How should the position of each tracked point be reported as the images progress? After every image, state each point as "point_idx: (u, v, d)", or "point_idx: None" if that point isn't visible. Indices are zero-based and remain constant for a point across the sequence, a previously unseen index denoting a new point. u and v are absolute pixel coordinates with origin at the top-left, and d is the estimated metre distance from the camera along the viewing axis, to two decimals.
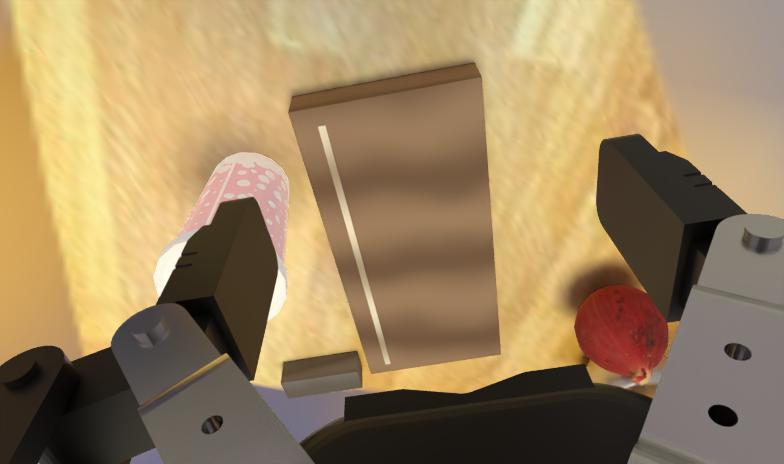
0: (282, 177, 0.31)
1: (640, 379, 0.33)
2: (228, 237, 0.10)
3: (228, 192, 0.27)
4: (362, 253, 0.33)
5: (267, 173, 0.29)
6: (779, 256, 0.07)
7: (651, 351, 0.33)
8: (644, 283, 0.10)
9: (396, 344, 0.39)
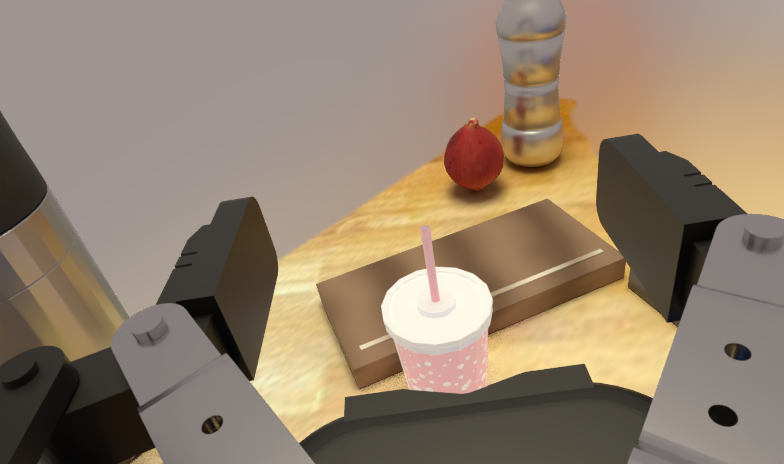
0: None
1: (472, 121, 0.50)
2: (228, 237, 0.10)
3: None
4: None
5: None
6: (779, 256, 0.07)
7: (458, 131, 0.51)
8: (644, 283, 0.10)
9: (573, 253, 0.41)
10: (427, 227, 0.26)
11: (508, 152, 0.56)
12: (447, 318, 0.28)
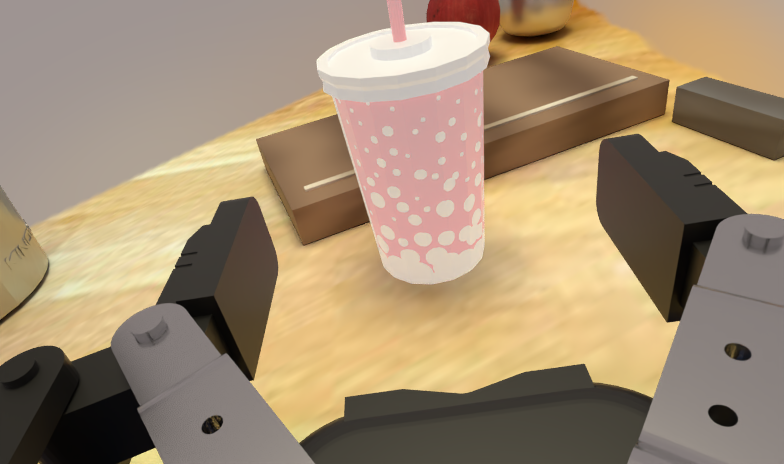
0: None
1: None
2: (228, 237, 0.10)
3: (355, 172, 0.21)
4: None
5: None
6: (779, 256, 0.07)
7: None
8: (644, 283, 0.10)
9: (596, 83, 0.31)
10: None
11: (506, 18, 0.45)
12: (417, 57, 0.17)
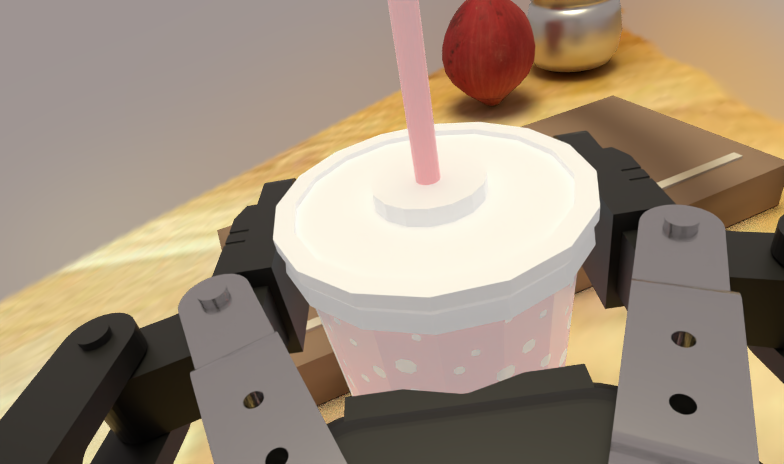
0: None
1: None
2: None
3: None
4: None
5: None
6: (692, 243, 0.08)
7: (463, 3, 0.32)
8: (587, 272, 0.11)
9: (682, 162, 0.22)
10: None
11: (538, 50, 0.37)
12: (463, 224, 0.09)
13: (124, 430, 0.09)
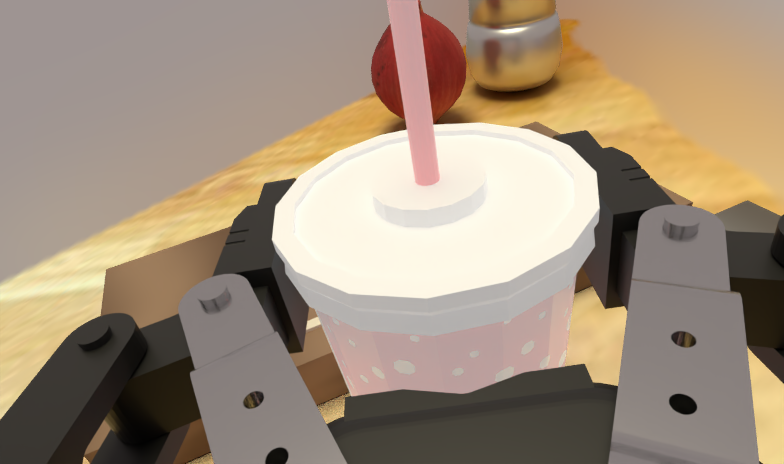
0: None
1: None
2: None
3: None
4: None
5: None
6: (692, 243, 0.08)
7: (390, 24, 0.31)
8: (587, 272, 0.11)
9: None
10: None
11: (477, 69, 0.36)
12: (462, 225, 0.09)
13: (124, 430, 0.09)
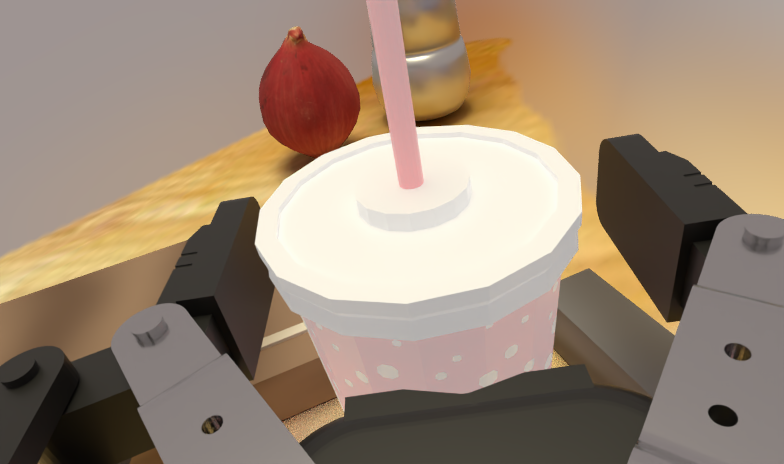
0: None
1: (291, 32, 0.28)
2: (228, 237, 0.10)
3: None
4: None
5: None
6: (779, 256, 0.07)
7: None
8: (644, 283, 0.10)
9: None
10: None
11: (381, 98, 0.34)
12: (446, 229, 0.09)
13: None
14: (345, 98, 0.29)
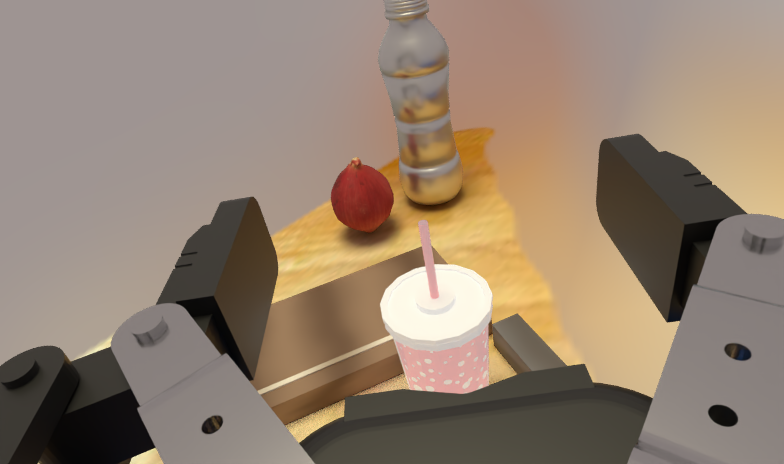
0: None
1: (353, 161, 0.47)
2: (228, 237, 0.10)
3: None
4: (322, 363, 0.36)
5: None
6: (779, 256, 0.07)
7: (342, 172, 0.48)
8: (644, 283, 0.10)
9: None
10: (424, 221, 0.26)
11: (405, 189, 0.53)
12: (446, 314, 0.28)
13: None
14: (385, 199, 0.48)
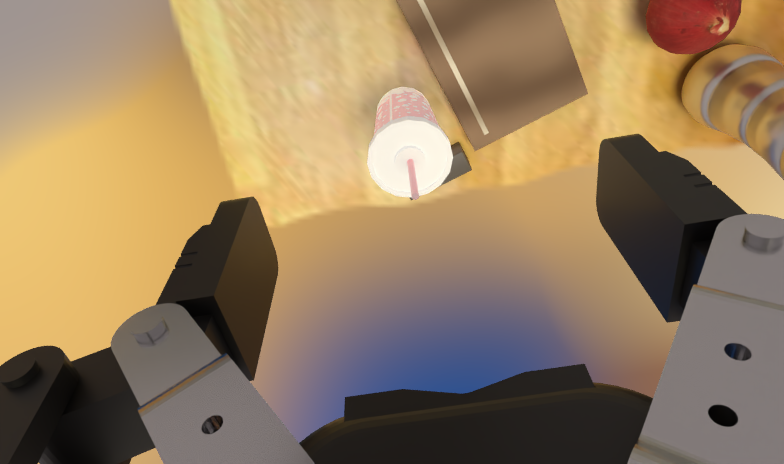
0: (424, 97, 0.43)
1: (718, 26, 0.34)
2: (228, 237, 0.10)
3: (395, 106, 0.40)
4: (430, 9, 0.38)
5: (414, 94, 0.42)
6: (779, 256, 0.07)
7: None
8: (644, 283, 0.10)
9: (487, 108, 0.43)
10: (416, 197, 0.33)
11: (714, 54, 0.41)
12: (394, 168, 0.38)
13: None
14: (666, 49, 0.38)
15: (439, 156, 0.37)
